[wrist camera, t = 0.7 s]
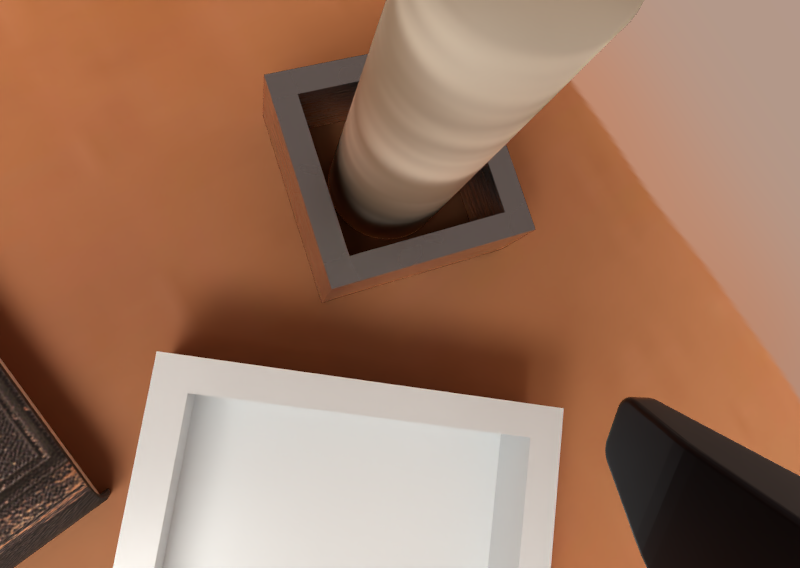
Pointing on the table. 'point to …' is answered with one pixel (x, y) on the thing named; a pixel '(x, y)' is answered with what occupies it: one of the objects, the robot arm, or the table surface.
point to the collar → (313, 209)
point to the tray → (334, 473)
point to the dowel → (454, 97)
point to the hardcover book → (35, 478)
